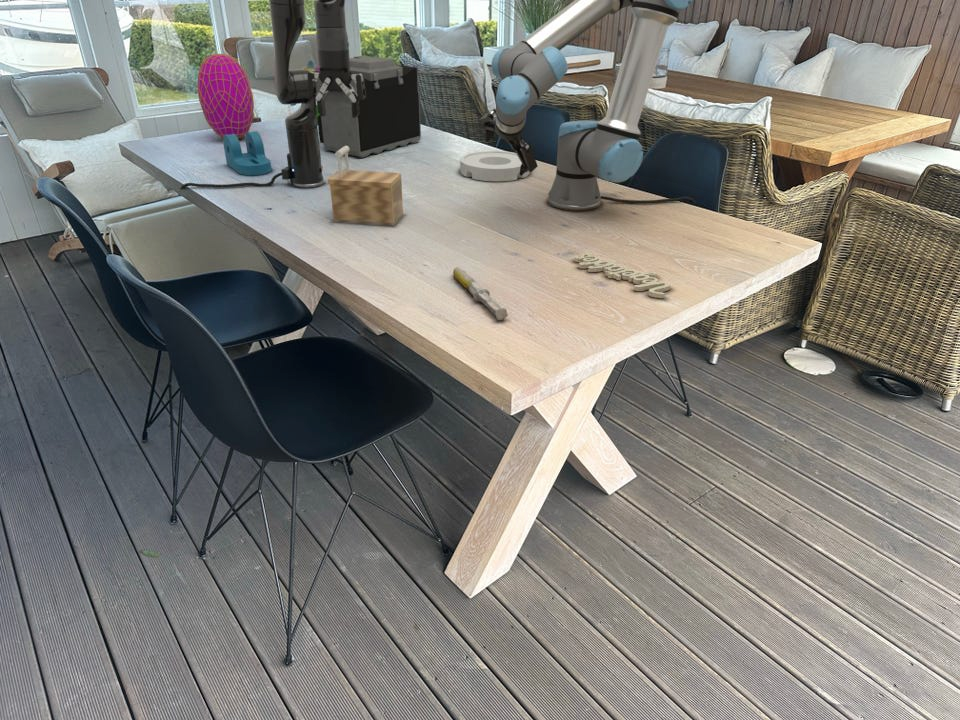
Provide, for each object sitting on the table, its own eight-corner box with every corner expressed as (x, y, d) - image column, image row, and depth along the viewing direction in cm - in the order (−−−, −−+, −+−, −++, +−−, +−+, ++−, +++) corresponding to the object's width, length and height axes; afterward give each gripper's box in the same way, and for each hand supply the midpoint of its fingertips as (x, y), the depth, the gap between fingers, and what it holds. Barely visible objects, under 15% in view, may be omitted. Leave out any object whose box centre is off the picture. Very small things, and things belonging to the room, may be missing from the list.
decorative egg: (223, 147, 254) (207, 59, 238) (197, 138, 265) (180, 54, 250) (268, 138, 266) (256, 54, 251) (241, 130, 277) (228, 49, 262)
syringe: (449, 274, 155) (449, 263, 153) (465, 272, 156) (464, 260, 154) (490, 323, 135) (491, 310, 133) (508, 319, 136) (508, 307, 134)
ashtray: (462, 161, 239) (462, 150, 237) (528, 163, 239) (529, 151, 237) (458, 180, 219) (458, 168, 217) (530, 182, 219) (531, 169, 217)
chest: (333, 222, 185) (329, 184, 179) (345, 211, 193) (342, 174, 188) (393, 226, 182) (391, 188, 177) (403, 214, 190) (401, 178, 185)
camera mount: (227, 164, 233) (221, 132, 227) (257, 160, 238) (252, 129, 233) (244, 176, 220) (239, 143, 215) (276, 172, 225) (271, 139, 220)
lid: (327, 184, 179) (324, 152, 175) (340, 174, 188) (337, 143, 183) (391, 188, 177) (389, 155, 173) (401, 177, 185) (399, 146, 181)
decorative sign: (686, 282, 150) (660, 295, 144) (686, 286, 150) (659, 300, 144) (592, 249, 166) (565, 259, 160) (592, 253, 167) (565, 263, 161)
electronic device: (383, 133, 276) (378, 52, 261) (425, 141, 265) (422, 56, 250) (314, 150, 251) (304, 61, 235) (358, 160, 240) (350, 67, 224)
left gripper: (299, 48, 164) (307, 118, 173) (356, 50, 162) (361, 121, 171) (311, 44, 171) (318, 112, 179) (365, 46, 169) (370, 115, 177)
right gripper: (464, 96, 171) (465, 133, 192) (534, 165, 169) (528, 195, 190) (485, 76, 172) (485, 115, 193) (556, 144, 170) (547, 176, 191)
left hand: (339, 116), depth 175 cm, fingers open, 8 cm apart
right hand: (506, 155), depth 191 cm, fingers open, 13 cm apart
